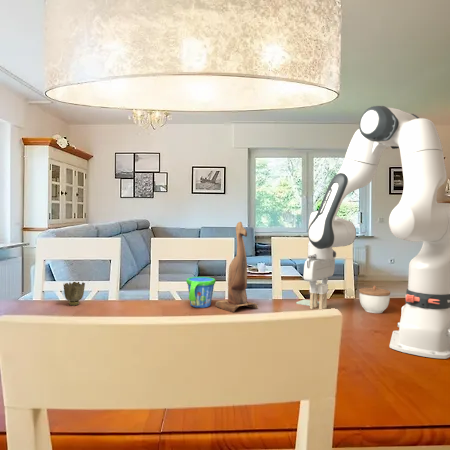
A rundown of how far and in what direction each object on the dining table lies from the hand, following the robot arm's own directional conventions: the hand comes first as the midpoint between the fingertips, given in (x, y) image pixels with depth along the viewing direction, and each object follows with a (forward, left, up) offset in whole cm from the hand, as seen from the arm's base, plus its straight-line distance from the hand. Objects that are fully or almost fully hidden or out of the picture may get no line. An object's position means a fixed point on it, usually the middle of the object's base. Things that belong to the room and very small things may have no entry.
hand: (318, 290), depth 157 cm
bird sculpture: (-19, +24, -7) cm, 31 cm away
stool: (0, 0, -7) cm, 7 cm away
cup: (-54, +72, -7) cm, 90 cm away
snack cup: (-25, +36, -7) cm, 44 cm away
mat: (+6, +7, -7) cm, 11 cm away
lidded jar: (+10, -17, -7) cm, 21 cm away
